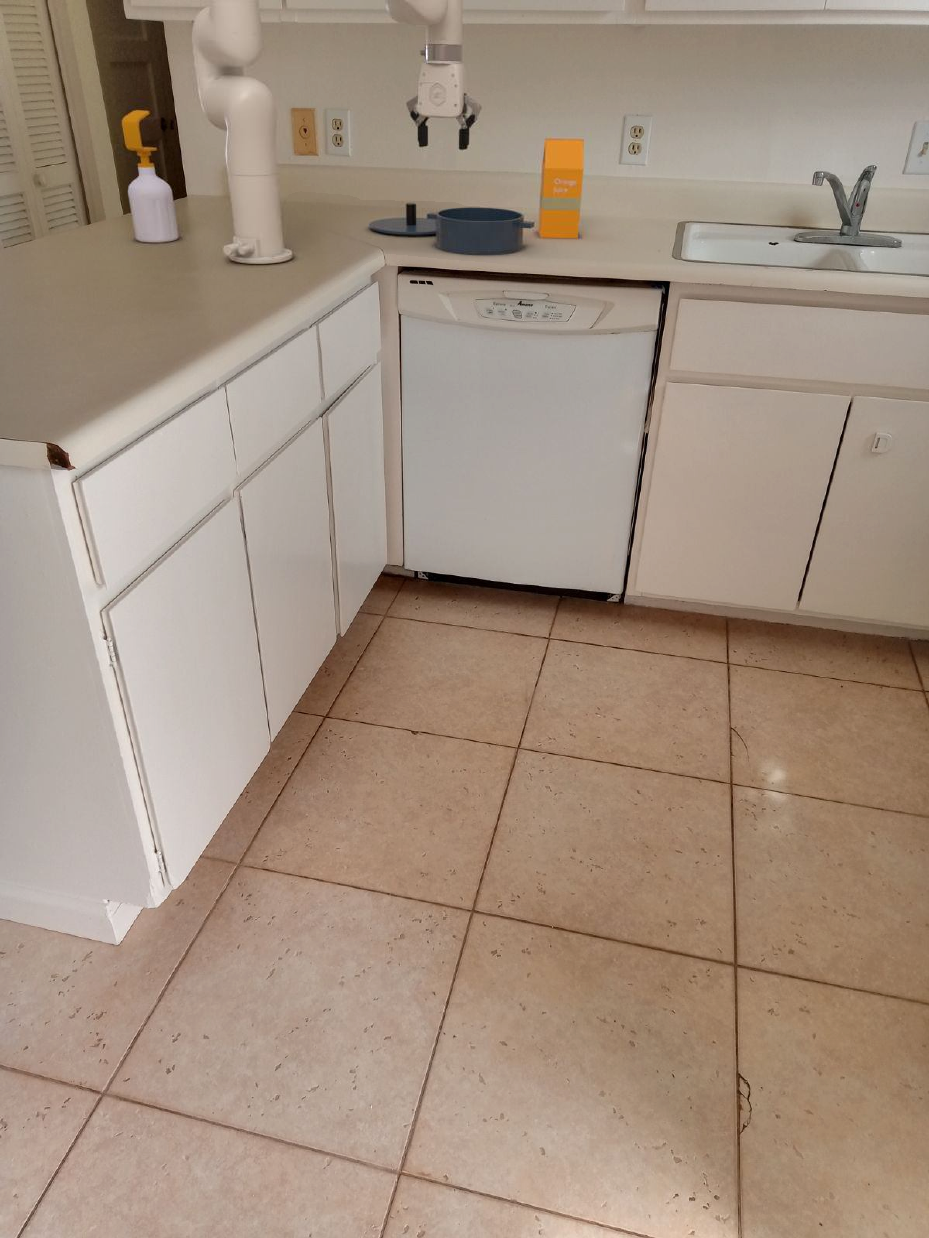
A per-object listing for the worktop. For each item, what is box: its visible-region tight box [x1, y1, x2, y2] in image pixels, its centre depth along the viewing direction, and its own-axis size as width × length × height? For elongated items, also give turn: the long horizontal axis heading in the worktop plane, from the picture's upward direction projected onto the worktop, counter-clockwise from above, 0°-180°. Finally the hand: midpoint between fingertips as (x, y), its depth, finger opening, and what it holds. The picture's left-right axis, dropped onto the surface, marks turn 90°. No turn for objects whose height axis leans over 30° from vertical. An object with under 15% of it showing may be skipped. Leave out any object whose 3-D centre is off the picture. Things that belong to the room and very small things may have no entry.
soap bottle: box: [121, 109, 179, 244], centre depth 188 cm, size 9×9×25 cm
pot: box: [426, 206, 535, 256], centre depth 194 cm, size 19×24×6 cm
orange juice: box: [537, 138, 584, 239], centre depth 204 cm, size 8×9×20 cm
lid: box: [368, 202, 436, 237], centre depth 210 cm, size 20×20×6 cm
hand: (443, 148), depth 194 cm, fingers open, 9 cm apart
